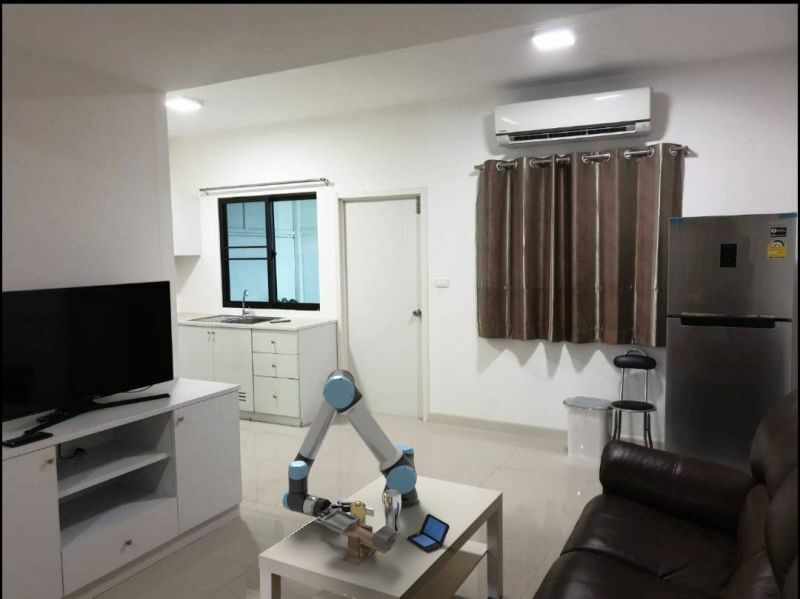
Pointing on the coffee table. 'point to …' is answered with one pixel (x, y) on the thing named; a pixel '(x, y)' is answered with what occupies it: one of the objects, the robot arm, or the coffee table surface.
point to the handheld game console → (430, 534)
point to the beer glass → (392, 508)
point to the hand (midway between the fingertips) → (363, 520)
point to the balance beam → (360, 531)
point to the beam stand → (358, 547)
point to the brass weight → (359, 512)
